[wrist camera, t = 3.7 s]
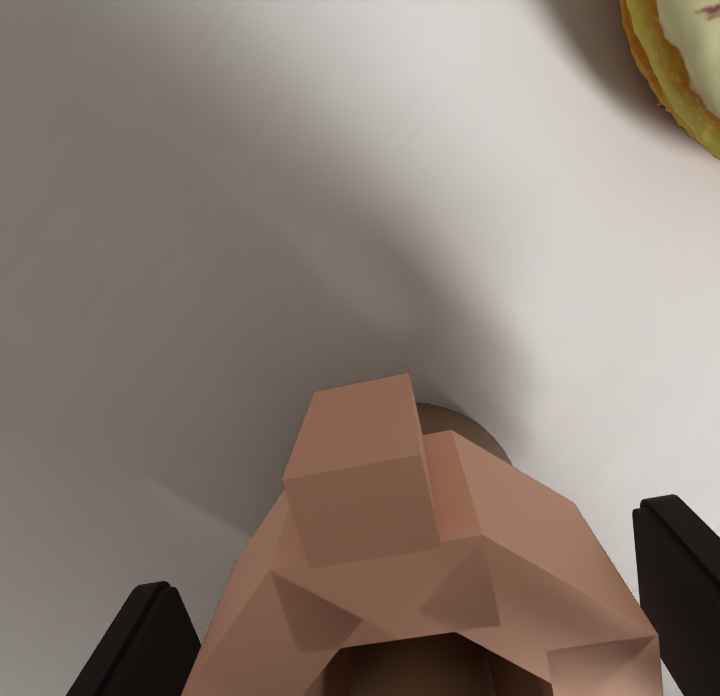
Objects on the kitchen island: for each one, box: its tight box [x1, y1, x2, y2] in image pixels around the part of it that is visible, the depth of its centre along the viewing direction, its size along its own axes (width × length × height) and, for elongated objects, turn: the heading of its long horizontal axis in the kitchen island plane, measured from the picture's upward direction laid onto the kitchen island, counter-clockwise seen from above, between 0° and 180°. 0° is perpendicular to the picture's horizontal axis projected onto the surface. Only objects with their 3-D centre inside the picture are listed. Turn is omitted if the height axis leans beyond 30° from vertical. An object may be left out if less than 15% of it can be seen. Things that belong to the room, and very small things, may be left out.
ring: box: [181, 372, 663, 696], centre depth 9 cm, size 7×8×3 cm
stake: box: [349, 403, 512, 696], centre depth 8 cm, size 6×6×10 cm
